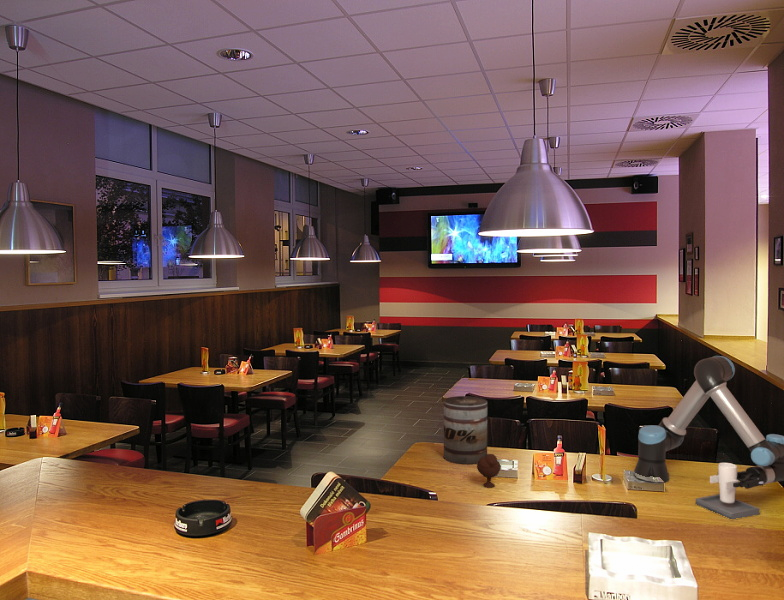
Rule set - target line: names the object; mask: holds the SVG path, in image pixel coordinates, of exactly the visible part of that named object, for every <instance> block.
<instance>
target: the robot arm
mask: <svg viewBox="0 0 784 600" xmlns="http://www.w3.org/2000/svg"><path fill="white" fill-rule="evenodd" d="M735 372H736V368H735V365H734V363H733V362H732V360H731V359H730V358H728V357H726V356H723V355H721V356H720V355H714V356H712V357H708V358H703V359H701V360H699V361H698V362H696V363H695V366H694V369H693V375H694V377H695V381H694V382H693V384H692V385H691V387H689V389H688V390H687V392H686V393H685V395H684V396H683V397H682V398H681V400H680V401H679V402H678V404H677V405H676V407H675V408H674V409H673V411H672V412H671V414H670V415H669V416H668V417H663V418H662V419H661V421H660V422H659V424H658V425H652V424H651V425H650V424H649V425H644V426H642V427H640V428H639V430H638V437H637V438H638V450H637V451H638V452H637V453H638V455H637V456H638V459H637V462H636V465H635V468H634V470H633V473H634V472H635V473H637V474H639V475H642V476H645V477H650V476H653V477H660V478H661V479H662V480H663V481H664V483H667V482H669V481H670V473H669V471H668V468H667V465H666V453H667V452H669V451H670V450H674V449H676V448H679V446H681V445H682V443H683V442H684V440H685V439H684V438H685V436H686V435H687V430H686V428H687V427H688V426H689V425H690V423H691V422H692V421H693V419H694V418H695V416H696V415H697V414H698V413H699V412H700V410H701V409H702V408H703V406H704V405H705V404H706V402H707V401H708V399H709V398H711V399H712V401H713V402H714V403H715V405H716V406H717V408H718V409H719V410H720V412H721V413H722V414H723V416H724V417H725V418H726V420H727V421H728V422H729V423H730V425H731V426H732V428H733V429H734V431H735V432H736V433H737V435H738V436H739V438H740V439H741V440H742V441H743V443H744V444H745V446H746V447H747V448H748V450H749V451H750V458H751V461H752V462H753V463H754V464H755V465H754V466H750V467H749V466H748V467H747V468H746V469H745V470H744V471H743V470H742V471H737V480H734V481H728V482H725V489H731V488H736V489H737V488H741V489H743V488H744V489H747V490H749V489H753V488H757V487H762V486H764V485H766V484H771V483H777V482H784V435H780V434H775V433H770V434H767V435H766V436H764V435H763V434H762V433H761V431H760V430H759V428H758V427H757V426H756V425H755V423H754V422H753V420H752V419H751V418H750V417H749V415H748V414H747V413H746V411H745V410H744V408H743V407H742V406H741V405H740V403H739V402H738V400H737V399H736V398H735V396H734V395H733V394H732V392H731V391H730V390H729V388H728V387H727V382H728V381H730V380H732V378H733V377H734V375H735ZM709 483H710V484H716V483H719V479H718V474H716V475H715V474H714V475H710V476H709Z"/></svg>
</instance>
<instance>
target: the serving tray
mask: <svg viewBox="0 0 784 600" xmlns="http://www.w3.org/2000/svg"><path fill="white" fill-rule="evenodd" d="M696 504H697V505H696ZM695 505H696V506H698V505H699V507H700V506H701V507H700V508H702V507H703V509H705V508H706V509H705V510H707V509H708V510H707V511H709V510H710V511H709V512H711V511H713V512H712V513H714V512H715V513H714V514H716V513H718V514H720V515H722V516H721V517H723V516H725V517H727V518H729V519H736V518H741V519H743V518H742V517H745V518H749V517H748V516H750V517H754V516H753V515H755V516H759V515H760V508H759V507H757V506H755V505H751V504H749V503H747V502H745V501H741V500H739V499H737V498H735V502H734V503H724V502H722V501H721V500H720V493H718V494H713V495H707V496H701V497H698V498H697V497H696V498H695ZM718 514H717V515H718ZM758 514H759V515H758ZM720 515H719V516H720ZM725 517H724V518H725ZM727 518H726V519H727ZM729 519H728V520H729ZM736 520H737V519H736Z"/></svg>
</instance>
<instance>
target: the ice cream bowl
mask: <svg viewBox="0 0 784 600" xmlns="http://www.w3.org/2000/svg"><path fill="white" fill-rule="evenodd" d="M501 468H502V465H501V464H500V461H498V458H497V456H496V455H495V454H493V453H487V455H486V456H484V457H481V458H480V460H479V462H478V464H476V469H477V471H478V473H480V475H482V476H483V477H484V478H486V482H484V483H483V484H482V487H484V488H486V489H493V488H495V487H496V485H495V483H493V482H492V481H491V480H492V478H494V477H496V476H498V474H499V473H500V472H501Z"/></svg>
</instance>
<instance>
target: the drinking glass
mask: <svg viewBox="0 0 784 600" xmlns="http://www.w3.org/2000/svg"><path fill="white" fill-rule="evenodd" d="M737 472H738V466H737V464H733V463H730V462H719V463H718V468H717V475H718V479H719V482H718V487H719V489H718V490H719V494H720V500H721V501H722V502H724V503H734V502H735V499H736V492H737V491H736V490H737V488H731V489H725V482H728V481H734V480H737Z"/></svg>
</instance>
